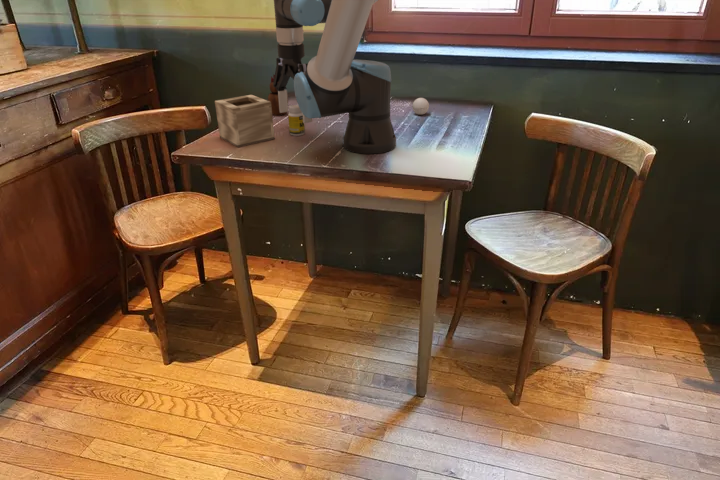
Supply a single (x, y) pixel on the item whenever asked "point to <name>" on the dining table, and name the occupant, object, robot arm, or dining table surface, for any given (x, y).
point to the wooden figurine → (274, 99)
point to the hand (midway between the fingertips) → (295, 117)
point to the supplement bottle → (296, 121)
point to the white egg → (420, 106)
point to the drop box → (245, 120)
